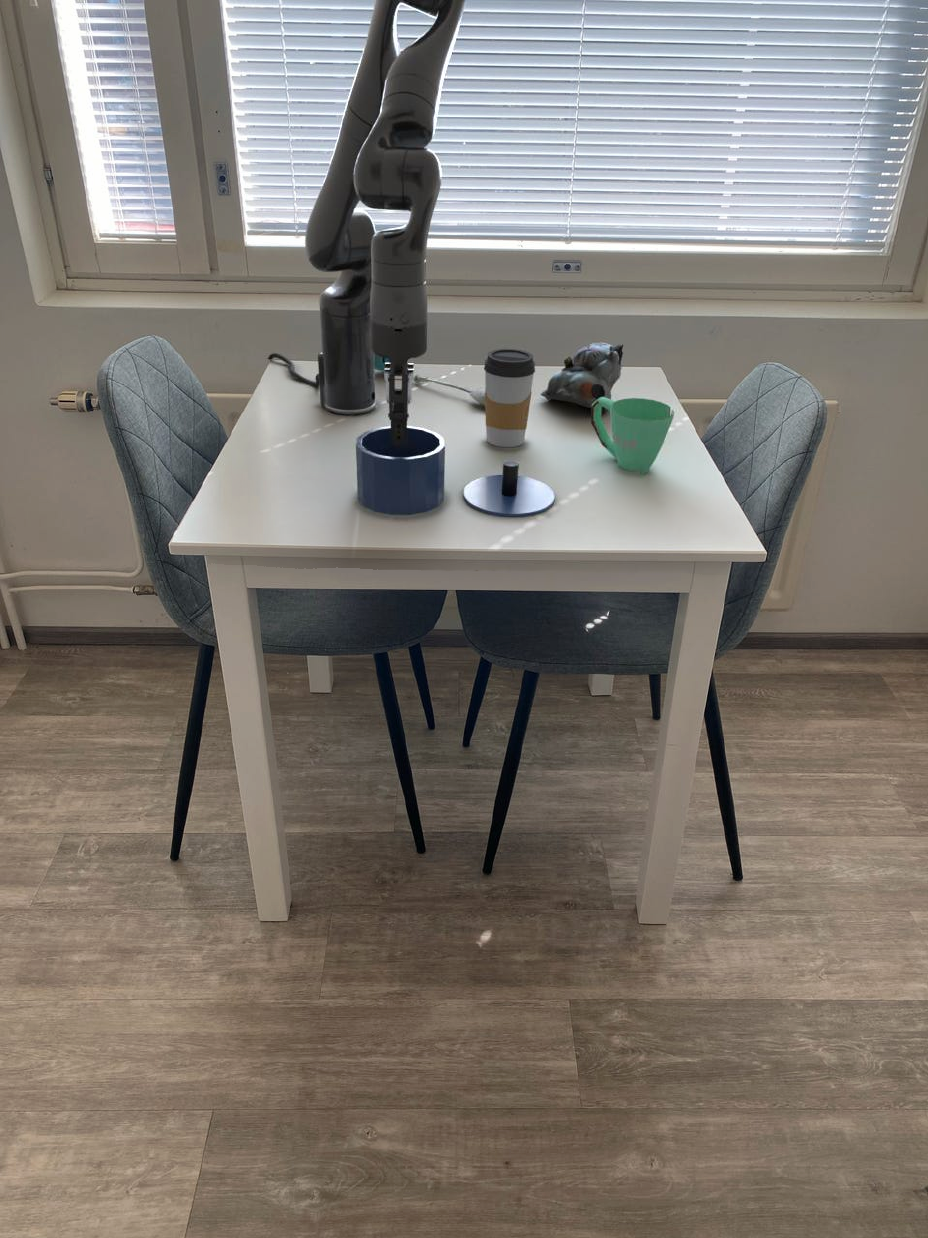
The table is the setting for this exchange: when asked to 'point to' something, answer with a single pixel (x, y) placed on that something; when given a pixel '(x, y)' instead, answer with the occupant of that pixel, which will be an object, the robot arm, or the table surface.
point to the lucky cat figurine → (587, 375)
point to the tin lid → (509, 493)
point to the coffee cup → (507, 395)
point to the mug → (633, 430)
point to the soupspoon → (475, 394)
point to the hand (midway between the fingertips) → (399, 433)
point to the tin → (400, 471)
